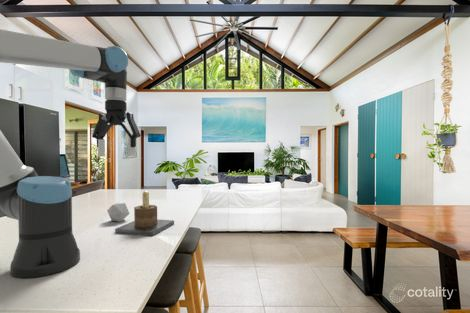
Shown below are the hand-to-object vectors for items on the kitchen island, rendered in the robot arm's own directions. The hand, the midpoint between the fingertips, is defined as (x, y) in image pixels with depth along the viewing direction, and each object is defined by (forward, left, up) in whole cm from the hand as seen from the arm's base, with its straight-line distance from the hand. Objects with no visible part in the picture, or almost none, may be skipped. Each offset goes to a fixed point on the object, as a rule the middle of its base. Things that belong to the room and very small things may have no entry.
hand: (116, 156), depth 102 cm
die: (+14, +10, -29) cm, 33 cm away
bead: (+5, -9, -27) cm, 29 cm away
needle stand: (+6, -9, -29) cm, 31 cm away
